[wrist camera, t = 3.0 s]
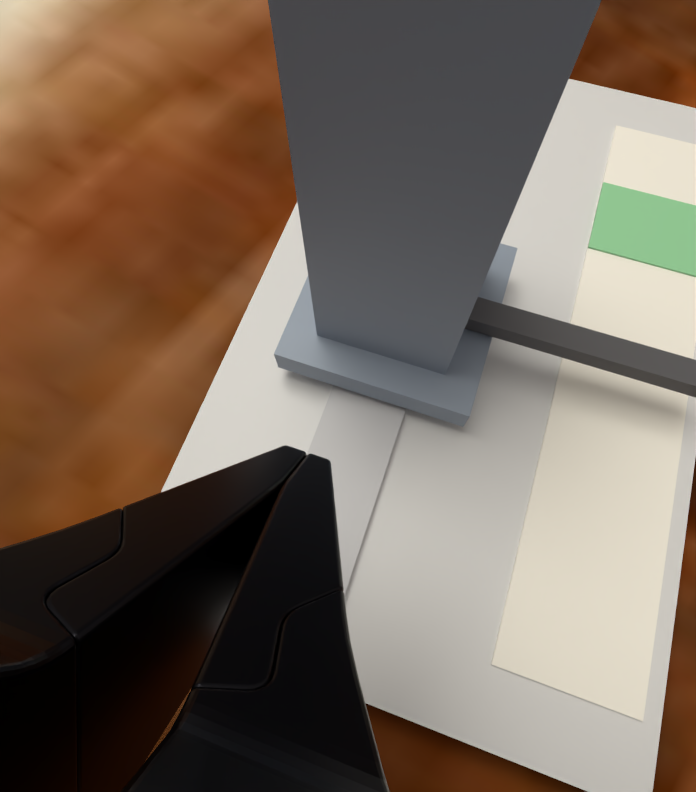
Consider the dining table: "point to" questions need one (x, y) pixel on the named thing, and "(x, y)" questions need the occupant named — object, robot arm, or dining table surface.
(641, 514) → the gauge board
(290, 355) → the tuning slider
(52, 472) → the dining table surface
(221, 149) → the dining table surface
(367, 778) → the robot arm
